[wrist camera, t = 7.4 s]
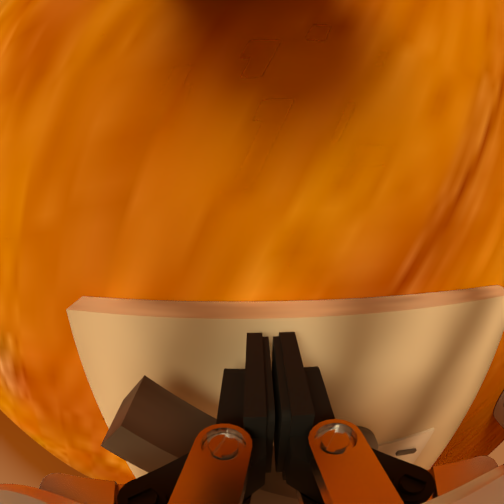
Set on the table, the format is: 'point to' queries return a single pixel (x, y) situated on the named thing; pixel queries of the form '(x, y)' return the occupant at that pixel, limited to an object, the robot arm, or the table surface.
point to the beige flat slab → (308, 356)
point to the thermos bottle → (500, 410)
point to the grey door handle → (172, 436)
